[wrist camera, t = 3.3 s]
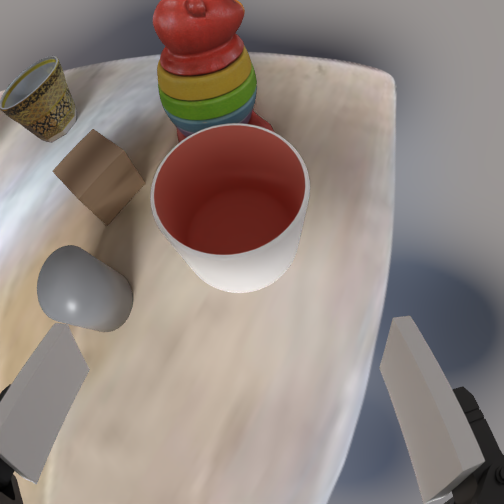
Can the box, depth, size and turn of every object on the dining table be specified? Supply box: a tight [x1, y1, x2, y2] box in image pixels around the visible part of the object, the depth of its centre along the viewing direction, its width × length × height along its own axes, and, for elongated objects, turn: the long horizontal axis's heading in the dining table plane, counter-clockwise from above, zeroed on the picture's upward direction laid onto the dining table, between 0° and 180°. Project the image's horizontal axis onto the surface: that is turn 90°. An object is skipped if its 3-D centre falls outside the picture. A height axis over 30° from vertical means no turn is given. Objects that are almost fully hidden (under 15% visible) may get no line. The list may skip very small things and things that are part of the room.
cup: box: [150, 123, 310, 293], centre depth 23 cm, size 10×10×10 cm
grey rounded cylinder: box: [37, 245, 133, 332], centre depth 23 cm, size 6×6×7 cm
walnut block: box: [53, 129, 146, 226], centre depth 28 cm, size 6×6×6 cm
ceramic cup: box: [0, 56, 76, 142], centre depth 31 cm, size 13×10×10 cm
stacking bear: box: [153, 0, 274, 143], centre depth 24 cm, size 11×10×18 cm
